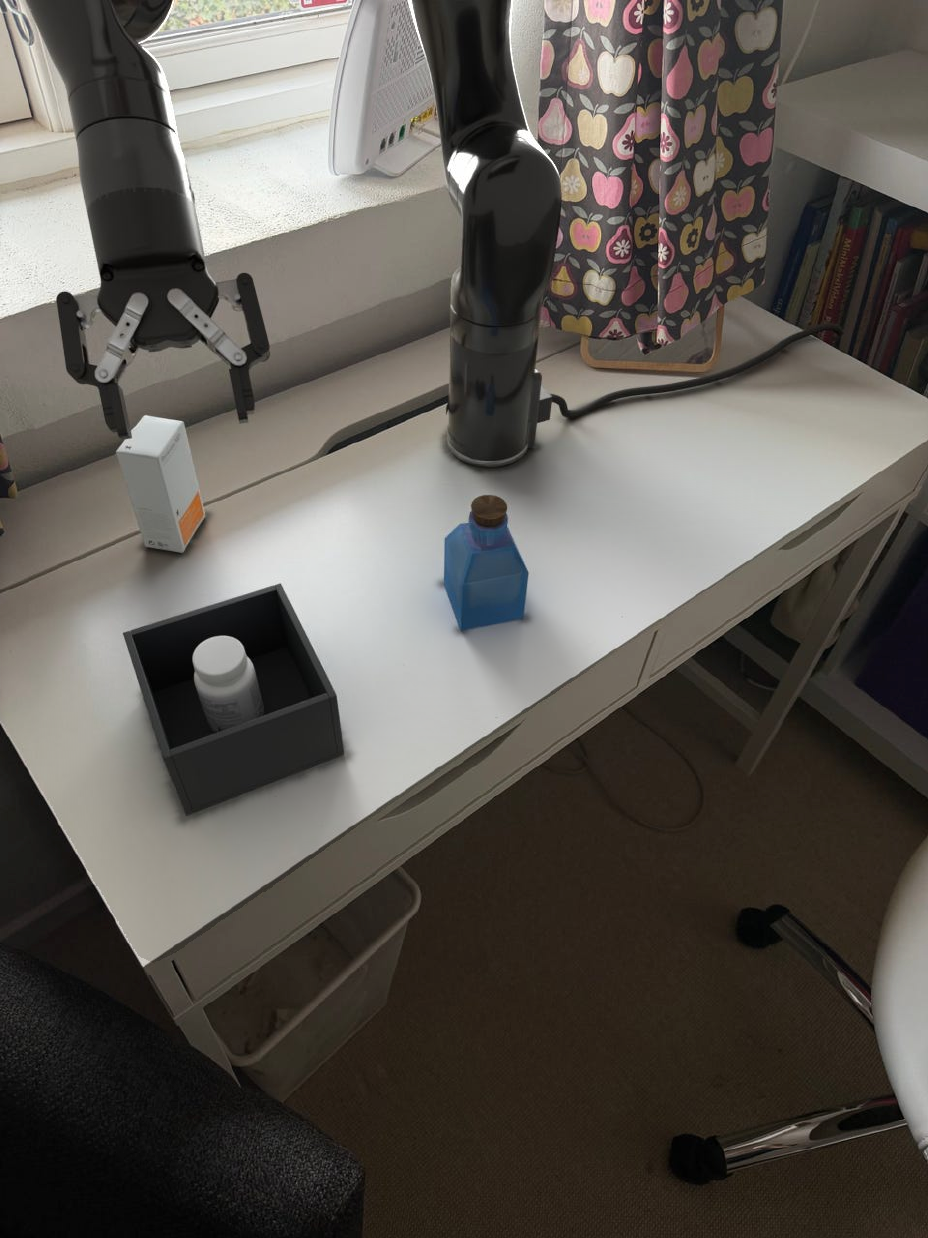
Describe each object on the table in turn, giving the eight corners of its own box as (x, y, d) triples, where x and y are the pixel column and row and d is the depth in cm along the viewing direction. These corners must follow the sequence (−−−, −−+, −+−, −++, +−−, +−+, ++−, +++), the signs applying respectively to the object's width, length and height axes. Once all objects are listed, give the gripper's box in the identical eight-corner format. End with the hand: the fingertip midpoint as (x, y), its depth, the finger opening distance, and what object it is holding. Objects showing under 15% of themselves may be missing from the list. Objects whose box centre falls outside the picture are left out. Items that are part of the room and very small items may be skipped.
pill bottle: (239, 686, 77) (222, 622, 70) (277, 715, 75) (263, 651, 68) (195, 720, 74) (174, 657, 68) (233, 751, 72) (215, 688, 66)
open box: (291, 644, 81) (280, 582, 75) (344, 754, 73) (337, 695, 67) (146, 693, 77) (122, 632, 71) (186, 816, 69) (163, 759, 63)
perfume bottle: (460, 630, 82) (464, 536, 74) (443, 584, 86) (445, 489, 77) (523, 618, 84) (534, 524, 75) (503, 573, 88) (512, 479, 79)
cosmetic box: (184, 554, 88) (157, 458, 79) (144, 547, 89) (112, 451, 80) (208, 515, 92) (184, 419, 83) (169, 509, 93) (142, 413, 84)
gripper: (22, 192, 59) (73, 435, 60) (238, 174, 62) (282, 406, 63) (50, 236, 66) (95, 451, 67) (242, 217, 69) (282, 424, 70)
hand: (185, 429), depth 65 cm, fingers open, 8 cm apart
